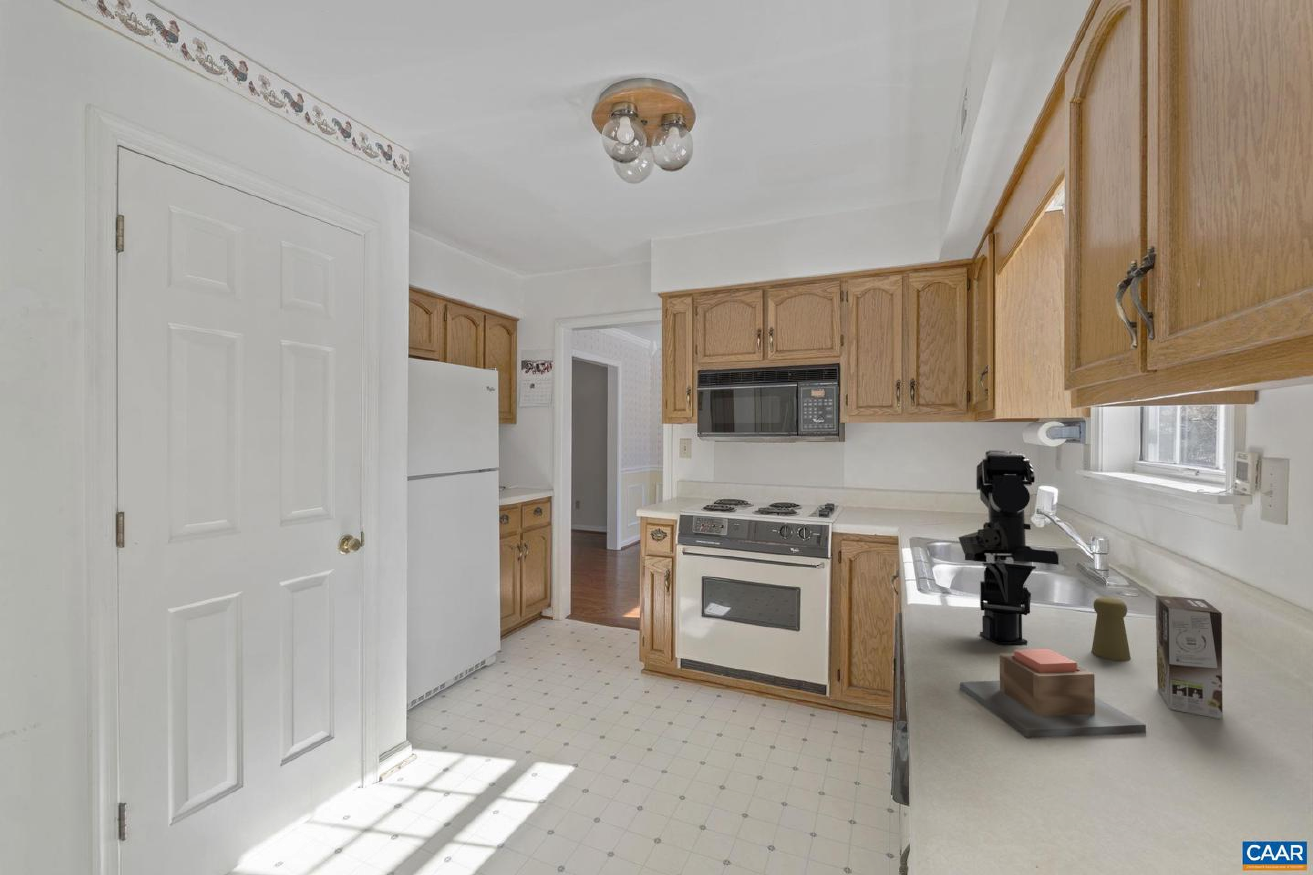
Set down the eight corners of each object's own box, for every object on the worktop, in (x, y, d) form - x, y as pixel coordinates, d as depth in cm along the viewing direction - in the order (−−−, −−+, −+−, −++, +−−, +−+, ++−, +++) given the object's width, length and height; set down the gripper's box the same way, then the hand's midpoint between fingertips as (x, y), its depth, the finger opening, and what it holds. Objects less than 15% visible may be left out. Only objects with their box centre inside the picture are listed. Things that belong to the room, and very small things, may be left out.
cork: (1095, 657, 110) (1094, 600, 110) (1088, 647, 115) (1087, 593, 115) (1134, 662, 107) (1133, 604, 107) (1126, 652, 112) (1125, 596, 113)
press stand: (1060, 685, 98) (1060, 643, 98) (1146, 732, 82) (1145, 683, 82) (960, 689, 97) (959, 646, 97) (1026, 738, 81) (1026, 687, 81)
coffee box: (1225, 720, 85) (1223, 613, 85) (1168, 709, 89) (1167, 606, 89) (1207, 696, 93) (1206, 598, 93) (1155, 687, 97) (1154, 593, 97)
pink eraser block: (1048, 685, 93) (1048, 648, 93) (1077, 701, 87) (1076, 662, 87) (1014, 686, 92) (1014, 649, 92) (1041, 703, 86) (1040, 663, 86)
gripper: (939, 517, 117) (939, 595, 114) (996, 510, 99) (999, 603, 95) (991, 522, 117) (994, 600, 114) (1059, 516, 99) (1063, 609, 96)
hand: (1009, 602), depth 105 cm, fingers closed
